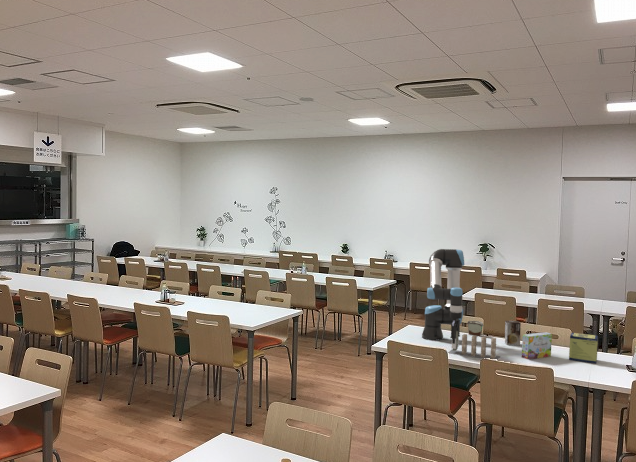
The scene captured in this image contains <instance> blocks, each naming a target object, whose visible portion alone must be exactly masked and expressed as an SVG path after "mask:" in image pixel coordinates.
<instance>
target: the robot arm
mask: <svg viewBox="0 0 636 462" xmlns="http://www.w3.org/2000/svg"><path fill="white" fill-rule="evenodd" d="M464 256H465V255H464V251H463V250H462V249H455V248H454V249H449V248H439V249H437V250H435V251H433V252H432V254H431V255H430V257H429V259H428V265H429V267H430V268H429V270H430V271H429V272H430V273H429V277H430V279H429V283H430V285H429V287H427V289H426V290H427V291H426V292H427V293H426V297H427V299H429V300H443V301H444V300H445V301H446V304H444V307H442V305H428V306H426V307H425V309H424V327H423V330H422V333H421V338H422V339H424V340H427V341H428V340H430V341H441V340H443V339H444V334H443V331H442V325H450V327H451V328H450V339H451V349H452V348H454V349H456V331H458V343H459V342H460V341H459V337H461V334H460V333H461V331H460V329H461V327H460V326H461V324H462V323H463V322H462V321H463V319H464V318H463V317H464V307H463V295H464V294H463V288H461V286H460V285H461V284H460V279H461V270H462V269H463V267H464V266H465V257H464ZM442 266H445V269H446V271H447V280H446V281H447V283H446V284H447V286H446V287H447V288H445V287H444V288H442Z"/></svg>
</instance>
